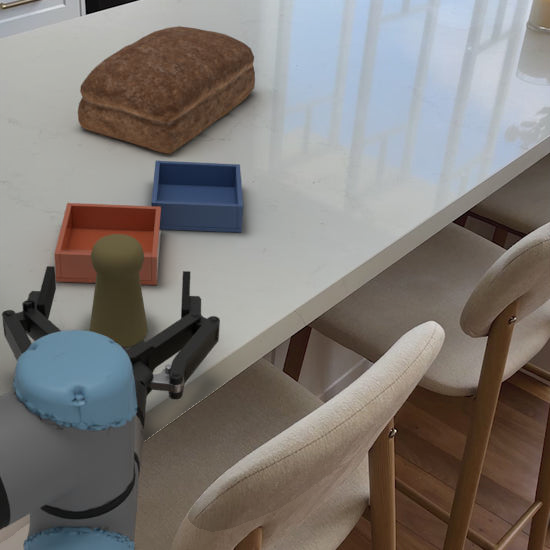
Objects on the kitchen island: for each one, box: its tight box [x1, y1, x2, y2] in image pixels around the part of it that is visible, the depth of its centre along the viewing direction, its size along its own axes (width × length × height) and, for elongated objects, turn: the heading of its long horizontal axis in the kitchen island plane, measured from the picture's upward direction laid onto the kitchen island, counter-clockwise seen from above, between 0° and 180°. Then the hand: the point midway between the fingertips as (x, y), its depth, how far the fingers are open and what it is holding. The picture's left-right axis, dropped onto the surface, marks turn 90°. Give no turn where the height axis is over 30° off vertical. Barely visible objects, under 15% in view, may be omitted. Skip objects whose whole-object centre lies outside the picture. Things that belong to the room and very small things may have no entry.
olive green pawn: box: [89, 234, 149, 349], centre depth 90 cm, size 6×6×11 cm
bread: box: [77, 25, 256, 155], centre depth 136 cm, size 17×29×11 cm, turn 155°
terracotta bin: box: [53, 202, 162, 286], centre depth 103 cm, size 11×11×4 cm
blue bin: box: [150, 160, 244, 233], centre depth 114 cm, size 11×11×4 cm
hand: (119, 279), depth 91 cm, fingers open, 13 cm apart
